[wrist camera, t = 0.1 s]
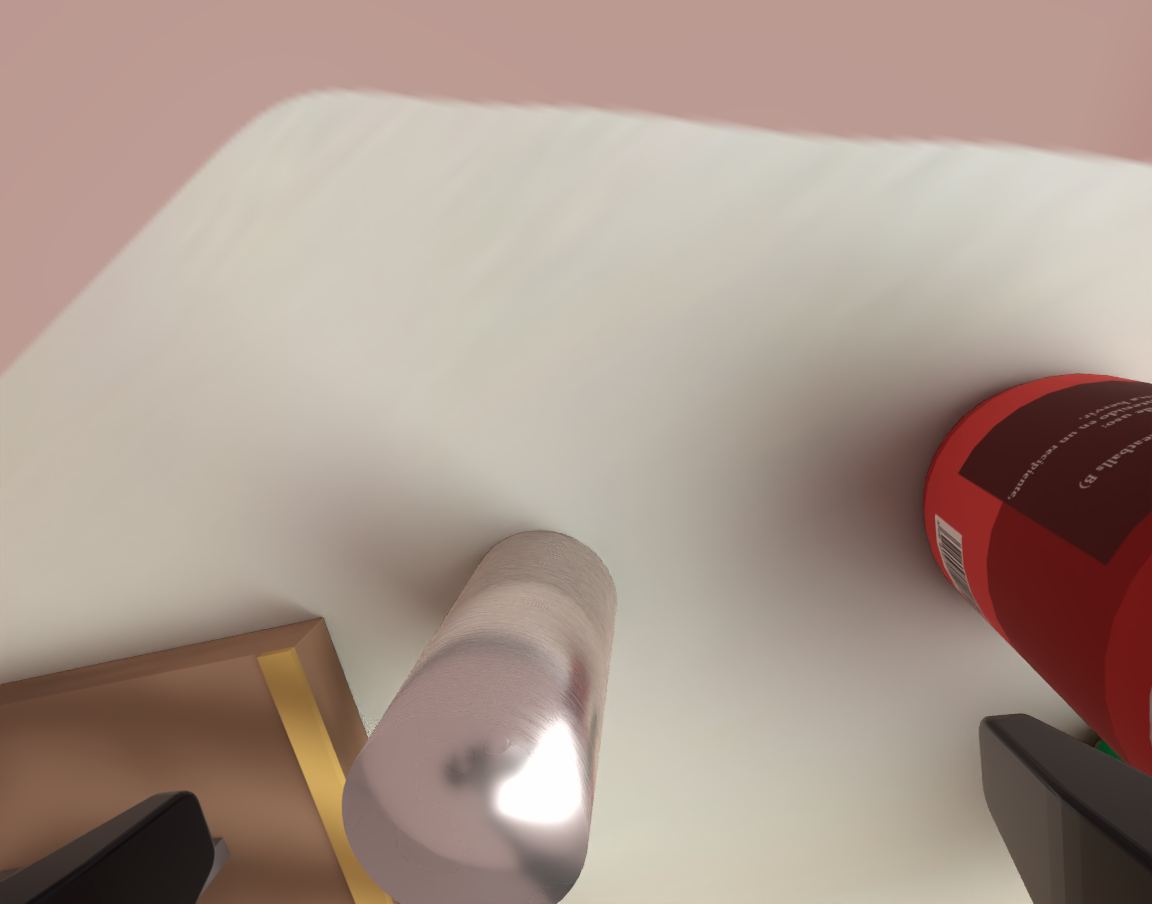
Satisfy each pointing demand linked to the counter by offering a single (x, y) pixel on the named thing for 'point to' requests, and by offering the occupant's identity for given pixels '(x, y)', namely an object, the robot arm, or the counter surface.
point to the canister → (493, 737)
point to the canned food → (1059, 539)
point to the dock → (197, 760)
